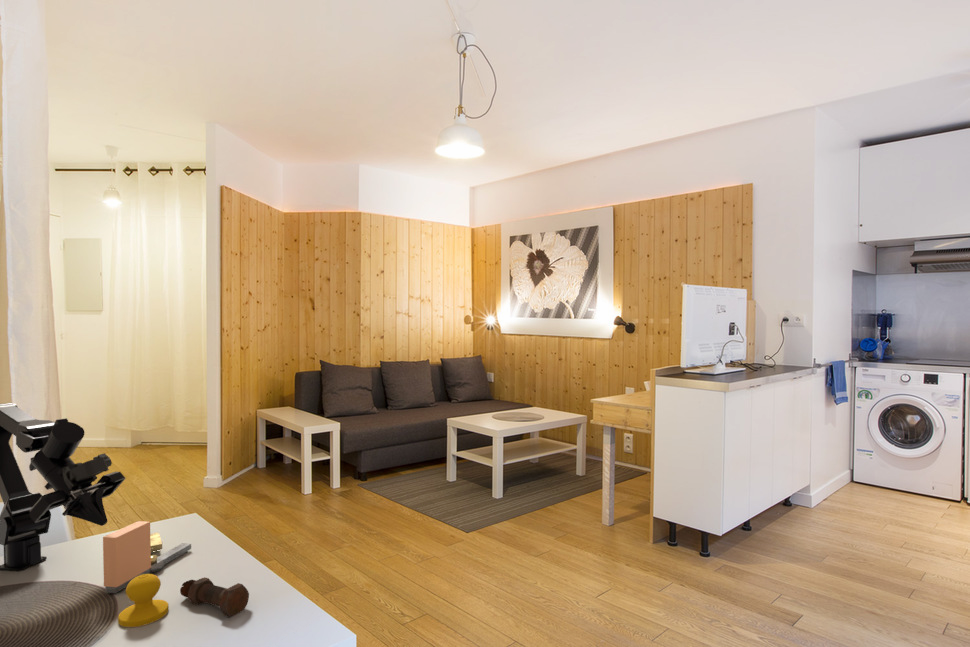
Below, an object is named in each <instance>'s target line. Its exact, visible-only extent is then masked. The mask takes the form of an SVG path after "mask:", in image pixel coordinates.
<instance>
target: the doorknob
mask: <svg viewBox="0 0 970 647" xmlns="http://www.w3.org/2000/svg"><path fill="white" fill-rule="evenodd" d="M161 582H162V581H161V580H160V578H159V577H158V576H157V575H156V574H153V573H149V574H143V575H140V576H137V577H135V578H134V579H132V580H131V581H130V582H129V584H128V585H127V587H125V595H126V597H127V598H128V599H129V600H130V601H132V603H134V604H132V605H129V606H127V607H126V608H124V609H123V610H122V611H120V613H119V614H118V616H117V617H118V618H117V619H118V620H117V622H118V625H120V626H121V627H124V628H137V627H142V626H146V625H149V624H151V623H154V622H157V621H159V620H161V619H162V618H163V617H165V616H166V615H167V613H168V612H169V609H170V608H169V603H168V602H167V601H166V600H164V599H154V597H155V596H156V595H157V593H158V592H159V590H160V589H161V586H162V585H161V584H162V583H161Z"/></svg>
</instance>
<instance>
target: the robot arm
mask: <svg viewBox="0 0 970 647" xmlns="http://www.w3.org/2000/svg"><path fill="white" fill-rule="evenodd" d="M85 433H86V432H85V429H84V428H83V427H81V425H79V424H77V423H75V422H72V421H69V419H68V418H59V419H56V420H55V421H54V420H45V419H37V418H35V417H33V416H32V415H31V414H29V413H27V412H25V411H23V410H22V409H21V408H19V407H18V405H17V404H16V403H12V402H5V403H0V497H1V499H2V503H3V507H2V510H1V513H0V545H1V546H3V563H2V564H0V570H2V571H4V570H6V571H19V572H20V571H23V570H25V569H28V568H30V567H31V566H33V565H36V564H38V563H40V562H43V561H45V560H47V558H48V557H47V556H43V555H42V543H41V538H40V536H41V535H43V534H48V533H49V529H50V524H51V517H52V513H51V510H53V509H55V508H58V507H62V506H63V508H64V509H65V510H64V511H63V512H62V513H61V515H62V516H64V517H65V516H69V517H72V518H75V519H76V518H77V519H79V520H83V521H87V522H90V523H92V524H94V525H95V524H96V525H99V526H100V527H102V526H106V525H107V523H108V518H107V515H106V511H105V508H104V507H105V506H104V503H103V499H104V498H106V497H109V496H111V495H112V494H113V493H114V492H116V490H117V489H118V488H119V487H120V486H121V485H122V484H123V482H124V481H125V480H126V477H125V475H123V473H122V472H121V471H113V472H110V473H106V474H105V475H102V476H101V477H100V478H99V480H98V481H97V482H96V480H97V479H98V476H97V475H100V474H102V473H104V472H107V471H109V467H111V466H112V464H113V463H112V459H111V458H110V457H109V456H108V455H107V454H106V453H105V452H103V453H100V454H98V455H97V456H94V457H93V458H92V459H89V460H87V461H85V462H77V463H75V462H74V460H72V458H71V456H72V455H74V453H75V451H77V448H78V447H79V445H80V444H81V442H82V441H83V439H84V437H85ZM12 436H14V437H15V446H17V447H18V448H19V449H20V451H22V452H23V453H24V454H25V453H32V452H36V453H35V454H34V455H33V457H30V463H29V466H28V467H29V471H30V472H33V471H35V470H37V472H38V473H39V474H40V476H42V477H43V478H44V480H45V481H46V484H45V485H44V488H45V489H46V490H51V489H52V490H53V491H52V492H48V493H45V494H41V493H40V492H35V493H32V492H31V491H29V488H28V486H27V483H26V481H25V479H24V475H23V474H22V471H21V469H20V467H19V463H18V462H17V459H16V457H15V455H14V452H13V450H12V447H11V445H10V442H11V438H12ZM93 482H94V483H95V482H96V483H95V484H92V483H93Z"/></svg>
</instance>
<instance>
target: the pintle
mask: <svg viewBox="0 0 970 647" xmlns="http://www.w3.org/2000/svg"><path fill="white" fill-rule="evenodd" d="M157 557H158V555H157V554H151V564H154V563H156V562H157Z"/></svg>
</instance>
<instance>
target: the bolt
mask: <svg viewBox="0 0 970 647" xmlns="http://www.w3.org/2000/svg"><path fill="white" fill-rule="evenodd" d="M179 592H180V595H181V596H182V597H185V598H188V600H189V601H190V602H191V604H192V605H194V606H195V605H196V606H200V604H201V605H202V603H203V604H208V605H213V606H216V607H218V609H219V610H220V611H221V612H222V614H223V615H224V616H225V617H228V618H231V617H234V616H237V615H238V614H240V613H241V612H243V611H244V610H245V609H246V607H247V605H248V602H249V599H250V598H249V596H250V592H249V590H248V589H247V588H246V586H244V584H243V583H236V584H234V585H232V586H230V587H228V588H226V587H223V586H219V585H215V584H214V582H212V579H210V578H209V577H202V578H198V579H196V580H195V579H189V580H187V581H185V582H183V583H182V585H181V587H180V591H179ZM204 602H205V603H204Z"/></svg>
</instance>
